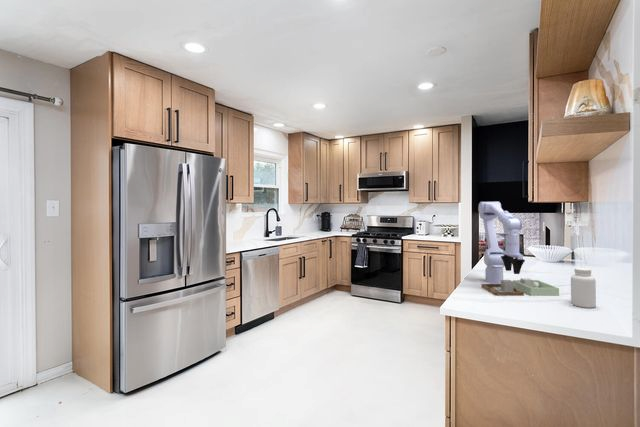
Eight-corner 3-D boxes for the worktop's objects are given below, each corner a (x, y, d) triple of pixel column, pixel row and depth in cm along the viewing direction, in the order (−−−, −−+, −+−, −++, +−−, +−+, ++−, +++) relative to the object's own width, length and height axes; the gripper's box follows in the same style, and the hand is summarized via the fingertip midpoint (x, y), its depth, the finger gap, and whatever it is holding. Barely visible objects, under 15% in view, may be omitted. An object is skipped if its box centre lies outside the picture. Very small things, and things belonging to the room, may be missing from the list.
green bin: (512, 288, 163) (512, 280, 163) (538, 288, 162) (538, 280, 162) (530, 296, 147) (530, 288, 147) (559, 297, 146) (559, 288, 146)
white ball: (530, 287, 161) (530, 281, 161) (537, 287, 161) (537, 281, 161) (534, 288, 158) (534, 282, 158) (540, 288, 158) (540, 282, 158)
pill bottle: (569, 301, 140) (569, 266, 139) (593, 304, 135) (593, 268, 135) (572, 306, 133) (572, 269, 132) (597, 309, 129) (597, 271, 128)
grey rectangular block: (520, 288, 160) (520, 278, 159) (529, 288, 159) (529, 278, 159) (524, 290, 156) (524, 280, 155) (533, 290, 155) (533, 280, 155)
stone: (500, 290, 158) (500, 279, 158) (509, 290, 158) (509, 279, 157) (504, 292, 154) (504, 281, 154) (513, 292, 154) (513, 281, 153)
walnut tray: (481, 287, 164) (481, 283, 164) (506, 288, 163) (506, 284, 163) (496, 296, 148) (496, 292, 148) (523, 296, 147) (523, 292, 147)
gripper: (496, 242, 163) (496, 269, 163) (511, 245, 149) (511, 275, 149) (511, 242, 163) (511, 269, 163) (527, 245, 148) (527, 275, 148)
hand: (512, 272), depth 156 cm, fingers open, 7 cm apart
